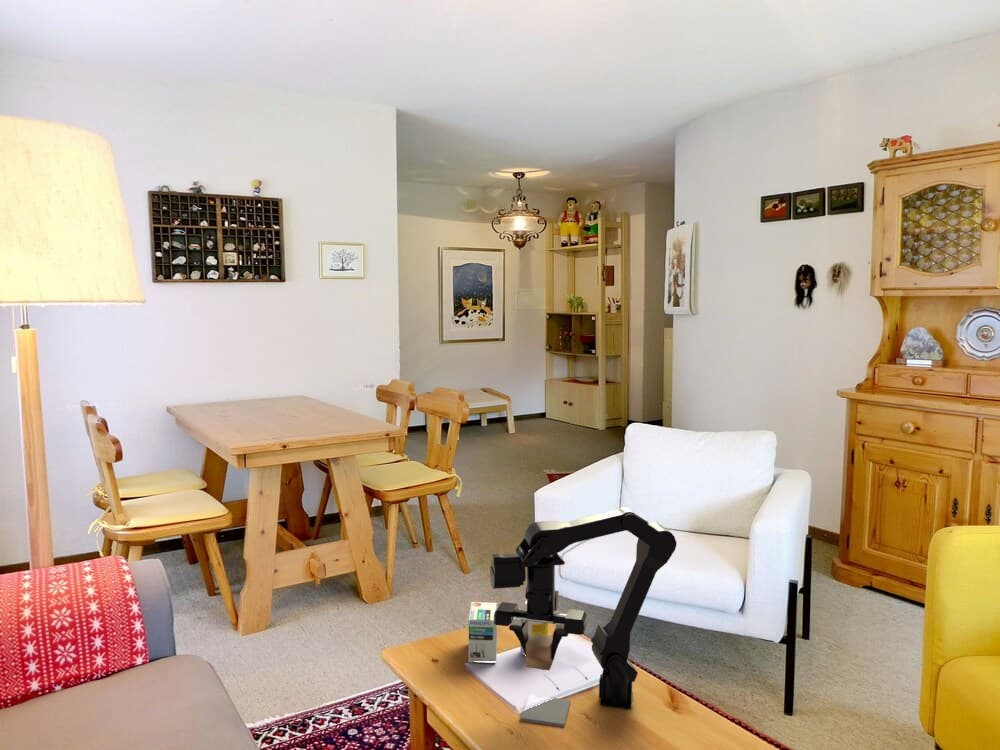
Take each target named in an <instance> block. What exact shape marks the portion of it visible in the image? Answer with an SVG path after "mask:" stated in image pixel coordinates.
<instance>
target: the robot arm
mask: <svg viewBox="0 0 1000 750" xmlns="http://www.w3.org/2000/svg"><path fill="white" fill-rule="evenodd" d="M624 531H626V532H628V533H630V534H632V535H633V536H634V537H636V538H637V543H636V552H635V554H636V555H635V557H636V559H635V562H634V564H633V567H632V569H631V572H630V574H629V576H628V579H627V581H626V584H625V586H624V588H623V591H622V593H621V596H620V597H619V600H618V603H617V605H616V606H615V610H614V612H613V614H612V617H611V619H610V621H608V623H606V624H605V625H604V626H602V625H601V624H597V626H596V629H595V633H594V635H593V636H592V638H591V639H590V641H591V651H592V652H593V656H594V657H595V659H596V661H597V662H598V664H599V665H600V667H601V669H602V673H601V674H600V676H599V682H598V683H599V684H598V686H599V687H598V698H599V699H600V705H599V706H602V707H609V708H618V709H623V710H632V709H633V698H634V692H633V683H634V682H635V681H636V679H637V677H638V673H639V672H638V671H637V670H636V668H635V667H634V665H633V664H632V662H631V660H630V659H629V655H630V652H631V651H630V650H631V633H632V630H633V628H634V626H635V624H636V621H637V619H638V616H639V614H640V612H641V609H642V607H643V605H644V602H645V599H646V597H647V595H648V593H649V590H650V588H651V586H652V584H653V581H654V579H655V577H656V575H657V572H658V571H660V569H661V568H663V567H664V566H665V565H666V564H667V563H668V561H670V559H671V557H672V556H673V554H674V553H675V551H676V548H677V540H676V538H675V536H674V534H673V533H672V532H671V531H669V530H668V529H667V528H666V527H664V525H662V524H660V523H659V522H655V521H652V522H650V521H647V520H646V519H644V518H643V517H641V516H639V515H638V514H637V513H635V512H634V511H632V510H631V509H630V508H629V507H626V506H624V507H619V508H617V509H614V510H610V511H607V512H602V513H598V514H594V515H590V516H585V517H581V518H577V519H572V520H568V521H558V520H557V521H556V520H544V521H543V520H541V521H535V522H532V523H531V524H529V525H528V527H527V529H526V530H525V533H524V538H523V539H522V540H521V541H520V543H519V544H518V546H516V549H515V550H514V551H515V553H511V554H510V553H509V554H502V553H501V554H500V553H494V554H492V559H491V563H490V566H489V575H490V576H489V577H490V579H489V580H490V585H491V588H492V589H493V590H496V589H498V590H499V589H510V588H511V589H513V588H514V589H515V588H520V587H521V586H524V583H525V582H526V588H525V596H524V598H525V600H527V611H525V609H523V610H522V609H519V604H518V603H513V602H505V601H504V602H503V601H502V602H501V603H500V604H499V605H497V609H496V611H495V613H494V624H495V625H497V626H501V627H508V629H509V631H511V632H512V631H513V632H514V635H515V636H516V637H517V638H516V639H518V641H519V643H520V646H521V645H522V648H523V650H524V652H525V655H526V643H527V641H528V639H529V636H528V621H534V622H542V623H548V624H552V625H555V628H554V630H553V633H552V636H553V640H552V650H551V659H552V660H553V661H555V656H556V653H557V650H558V648H559V644H560V642H561V640H562V638H563V637H564V638H565V637H566V638H567V637H568V636H569V635H577V636H578V635H579V636H582V635H584V634H585V630H586V627H587V625H588V614H587V612H586V611H585V610H578V609H570V608H569V609H567V612H566V614H564V613H555V612H556V611H557V609H558V606H559V605H558V604H559V593H560V592H559V590H556V587H555V578H556V575H555V574H556V573H555V572H556V571H555V568H556V567H555V566H564V565H565V564H566V562H565V560H564V559H563V557H562V556H561V555H559V553H560V552H562V551H564V550H565V549H566V548H568V547H569V546H571V545H573V544H575V543H580V542H584V541H589V540H592V539H596V538H600V537H606V536H609V535H613V534H616V533H620V532H624Z"/></svg>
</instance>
